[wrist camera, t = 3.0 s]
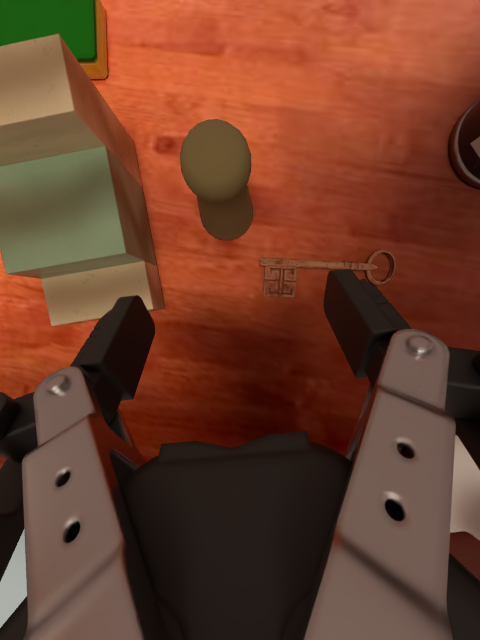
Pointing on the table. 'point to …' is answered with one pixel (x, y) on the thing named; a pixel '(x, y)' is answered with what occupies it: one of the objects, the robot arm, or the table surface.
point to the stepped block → (70, 187)
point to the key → (314, 264)
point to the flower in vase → (465, 492)
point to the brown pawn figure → (219, 177)
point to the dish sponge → (60, 28)
